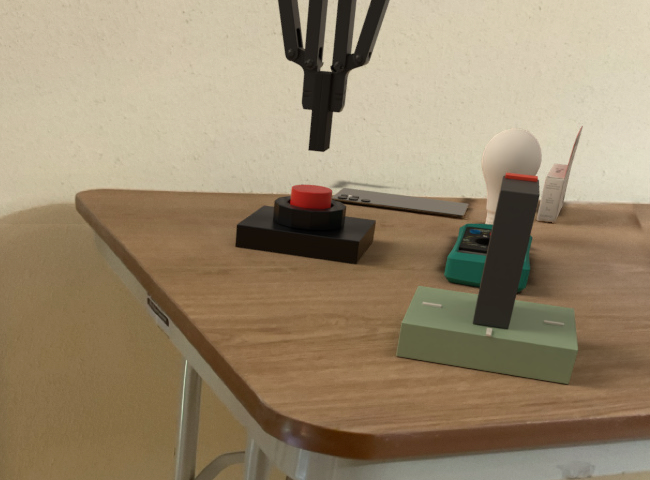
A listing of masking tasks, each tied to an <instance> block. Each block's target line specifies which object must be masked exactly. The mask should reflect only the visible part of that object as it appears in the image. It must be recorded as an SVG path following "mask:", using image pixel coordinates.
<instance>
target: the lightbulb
mask: <svg viewBox="0 0 650 480" xmlns="http://www.w3.org/2000/svg"><path fill="white" fill-rule="evenodd" d="M542 155H543V154H542V148H541V145H540V143H539V141H538V139H537V138H536V136H535V135H533V133H531V132H529V131H528V130H526V129H523V128H518V127H512V128H507V129H504V130H501V131H500V132H498V133H496V134H494V136H493V137H491V139H490V140H489V141H488V142H487V144H486V145H485V147H484V150H483V152H482V155H481V160H480V161H481V171H482V175H483V178H484V182H485V186H486V204H485V205H486V206H485V209H486V212H487V213H486V218H485V223H484V224H493V222H494V217H495V212H496V207H497V203H498V198H499V193H500V188H501V184H502V179H503V176H505V175H506V173H515V174H523V175H532V176H537V175H538V172H539V170H540V168H541V164H542Z"/></svg>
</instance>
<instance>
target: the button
mask: <svg viewBox="0 0 650 480" xmlns="http://www.w3.org/2000/svg"><path fill="white" fill-rule="evenodd" d="M290 196H291V200H290V204H291V205H294V206H298V207H304V208H312V209H325V208H331V200H332V197H333V189H332V188H329V187H326V186H323V185H318V184H317V185H316V184H295V185H293V186H291V189H290Z"/></svg>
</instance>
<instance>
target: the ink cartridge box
mask: <svg viewBox="0 0 650 480" xmlns="http://www.w3.org/2000/svg"><path fill="white" fill-rule="evenodd" d="M583 128H584V126H583V125H581V126H580V128H579V131H578V133H577V135H576V138H575V140H574V143H573V146H572V149H571V153H570V156H569V160H568V163H567V164H563V163H553V164H552V166H551V167H550V169H549V171H548V172H547V174H546V175H545V178H544V183H543V188H542V191H541V197H540V202H539V205H538V211H537V216H536V221H537V222H541V221H545V222H544V223H548V222H552V223H551V224H556V222H557V219H558V216H559V215H560V212H561V211H562V208H563V207H564V201H565V197H566V194H567V193H566V192H567V189H568V188H567V187H568V183H569V178H570V175H571V170H572V166H573V162H574V159H575V156H576V152H577V149H578V145H579V143H580V139H581V135H582V132H583Z"/></svg>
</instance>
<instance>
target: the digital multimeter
mask: <svg viewBox="0 0 650 480" xmlns="http://www.w3.org/2000/svg"><path fill="white" fill-rule="evenodd" d="M492 226H493V224H485V223H465V224H463V225H462V226H460V227H459V230H458V234H457V238H456V241H455V243H454V246H453V247H452V250H451V251H450V252H449V254H448V255H447V257H446V261H445V267H444V273H443V277H444V278H445V279H446V280H447V282H448V283H454V284H458V285H464V286H469V287H475V288H480V283H481V279H482V274H483V269H484V264H485V260H486V255H487V250H488V245H489V241H490V236H491V231H492ZM533 238H534V237H533V236H532V234H531V235H530V239H529V243H528V248H527V252H526V256H525V260H524V265H523V269H522V273H521V277H520V282H519V286H518V290H517V293H519V292H521V291H523V290H525V289H527V284H528V281H529V276H530V272H531V264H530V263H531V262H530V251H531V247H532V243H533Z"/></svg>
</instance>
